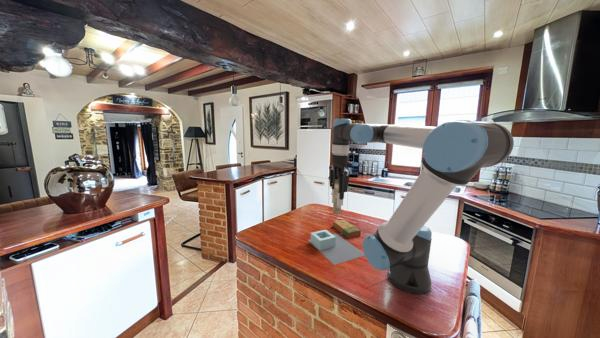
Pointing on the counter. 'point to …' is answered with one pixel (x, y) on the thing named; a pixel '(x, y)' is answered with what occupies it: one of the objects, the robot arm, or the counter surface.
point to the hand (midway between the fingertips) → (337, 203)
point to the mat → (341, 251)
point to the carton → (346, 228)
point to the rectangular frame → (323, 239)
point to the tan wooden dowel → (336, 188)
